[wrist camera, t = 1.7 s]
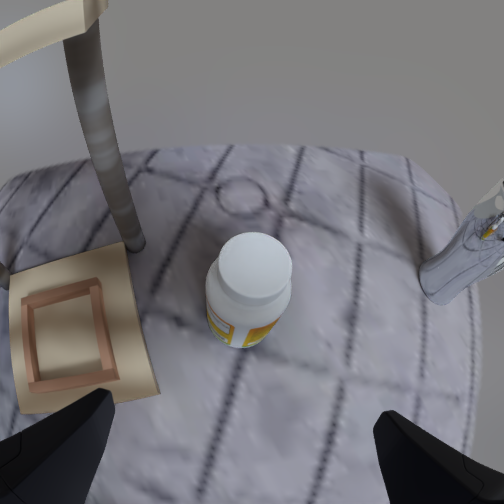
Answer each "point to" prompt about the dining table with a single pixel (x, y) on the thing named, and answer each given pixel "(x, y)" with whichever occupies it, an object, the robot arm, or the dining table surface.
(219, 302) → the supplement bottle
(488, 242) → the beer glass
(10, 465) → the robot arm
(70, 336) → the wood and grey frame
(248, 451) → the dining table surface
